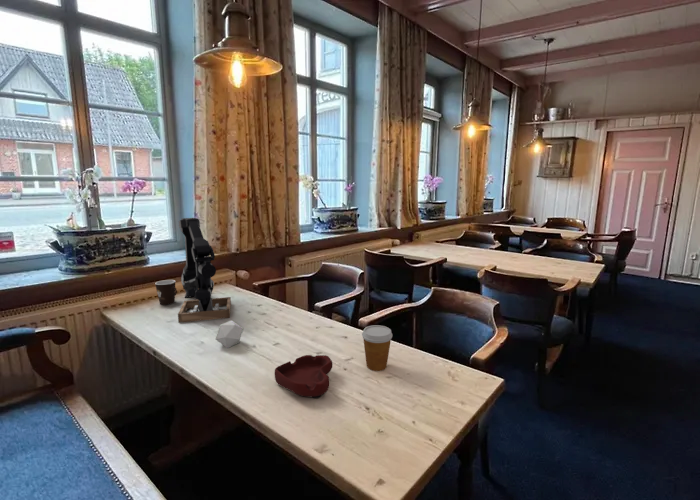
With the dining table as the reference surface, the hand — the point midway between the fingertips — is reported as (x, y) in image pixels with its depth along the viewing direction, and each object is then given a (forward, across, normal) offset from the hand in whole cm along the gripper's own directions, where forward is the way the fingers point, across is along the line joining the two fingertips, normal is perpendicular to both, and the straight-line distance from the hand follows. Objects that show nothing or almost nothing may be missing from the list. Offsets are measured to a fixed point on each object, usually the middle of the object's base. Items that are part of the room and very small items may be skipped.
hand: (206, 307), depth 166 cm
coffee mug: (+3, -18, -19) cm, 26 cm away
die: (+3, +36, +11) cm, 38 cm away
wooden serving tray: (+2, 0, 0) cm, 2 cm away
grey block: (+3, 0, 0) cm, 3 cm away
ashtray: (+3, +69, +32) cm, 76 cm away
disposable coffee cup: (+3, +65, +56) cm, 86 cm away
